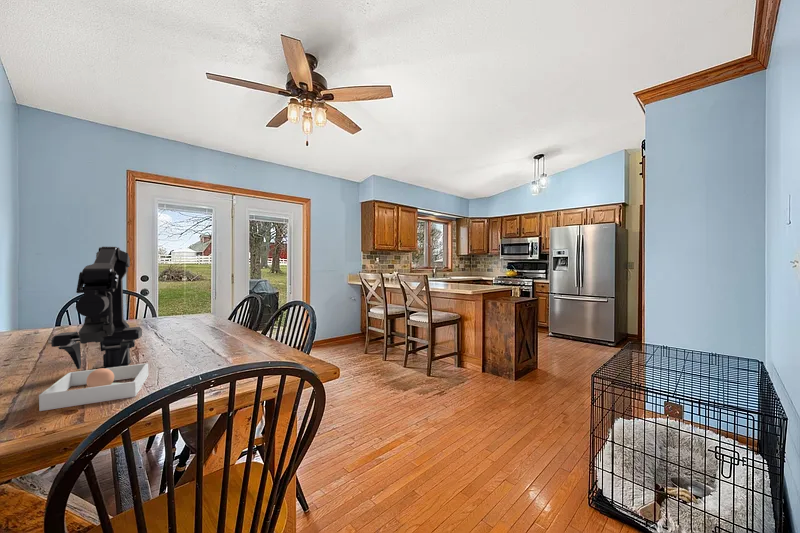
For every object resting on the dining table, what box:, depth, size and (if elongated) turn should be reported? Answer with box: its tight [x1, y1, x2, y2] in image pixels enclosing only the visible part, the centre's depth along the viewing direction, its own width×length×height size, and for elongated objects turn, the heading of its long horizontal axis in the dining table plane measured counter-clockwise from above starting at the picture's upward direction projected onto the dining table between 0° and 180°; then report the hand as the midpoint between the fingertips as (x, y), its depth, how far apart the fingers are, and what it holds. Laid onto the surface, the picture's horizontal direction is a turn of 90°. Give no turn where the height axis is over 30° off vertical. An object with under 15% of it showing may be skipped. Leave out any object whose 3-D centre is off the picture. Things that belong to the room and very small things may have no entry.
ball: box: [86, 367, 115, 388], centre depth 98 cm, size 6×6×6 cm
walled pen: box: [38, 362, 149, 412], centre depth 98 cm, size 19×19×4 cm
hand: (100, 366), depth 98 cm, fingers open, 9 cm apart
